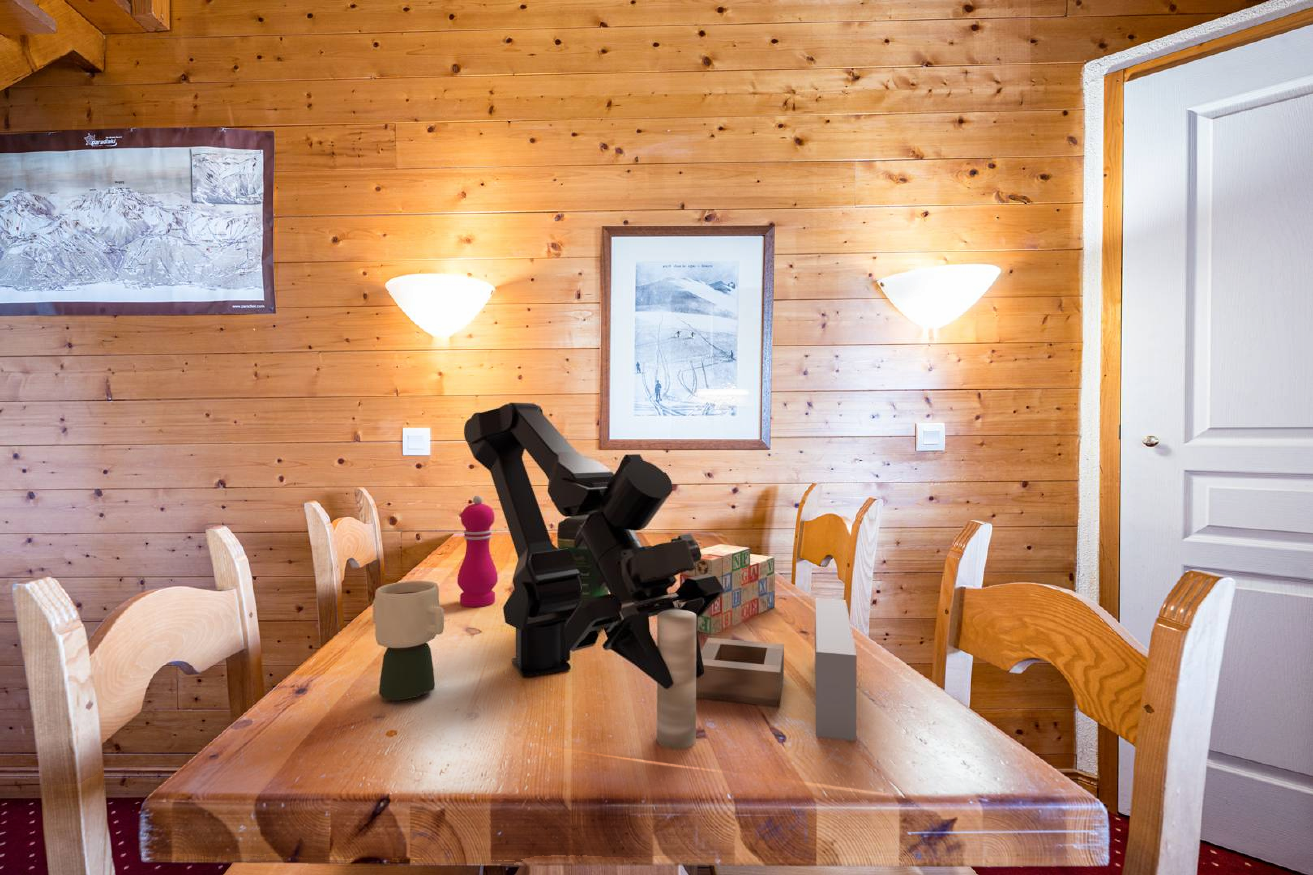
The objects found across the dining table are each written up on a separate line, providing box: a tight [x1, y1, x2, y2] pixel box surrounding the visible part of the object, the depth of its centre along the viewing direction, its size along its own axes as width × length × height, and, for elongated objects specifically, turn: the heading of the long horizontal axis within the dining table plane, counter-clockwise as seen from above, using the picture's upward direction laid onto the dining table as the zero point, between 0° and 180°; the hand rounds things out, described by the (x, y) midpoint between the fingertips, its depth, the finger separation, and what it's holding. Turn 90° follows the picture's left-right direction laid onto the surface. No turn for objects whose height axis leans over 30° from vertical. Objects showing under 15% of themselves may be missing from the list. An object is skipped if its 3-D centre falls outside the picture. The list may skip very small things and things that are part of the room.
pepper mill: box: [456, 494, 499, 608], centre depth 116 cm, size 7×7×20 cm
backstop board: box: [814, 597, 858, 742], centre depth 75 cm, size 4×22×9 cm, turn 166°
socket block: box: [696, 637, 785, 708], centre depth 78 cm, size 10×10×4 cm
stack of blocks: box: [679, 543, 776, 635], centre depth 108 cm, size 21×6×12 cm, turn 142°
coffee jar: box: [556, 515, 610, 633], centre depth 102 cm, size 10×8×19 cm
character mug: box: [372, 580, 445, 701], centre depth 75 cm, size 11×7×13 cm, turn 66°
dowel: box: [656, 610, 697, 750], centre depth 64 cm, size 4×4×13 cm
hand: (685, 681), depth 63 cm, fingers closed on dowel, 4 cm apart
